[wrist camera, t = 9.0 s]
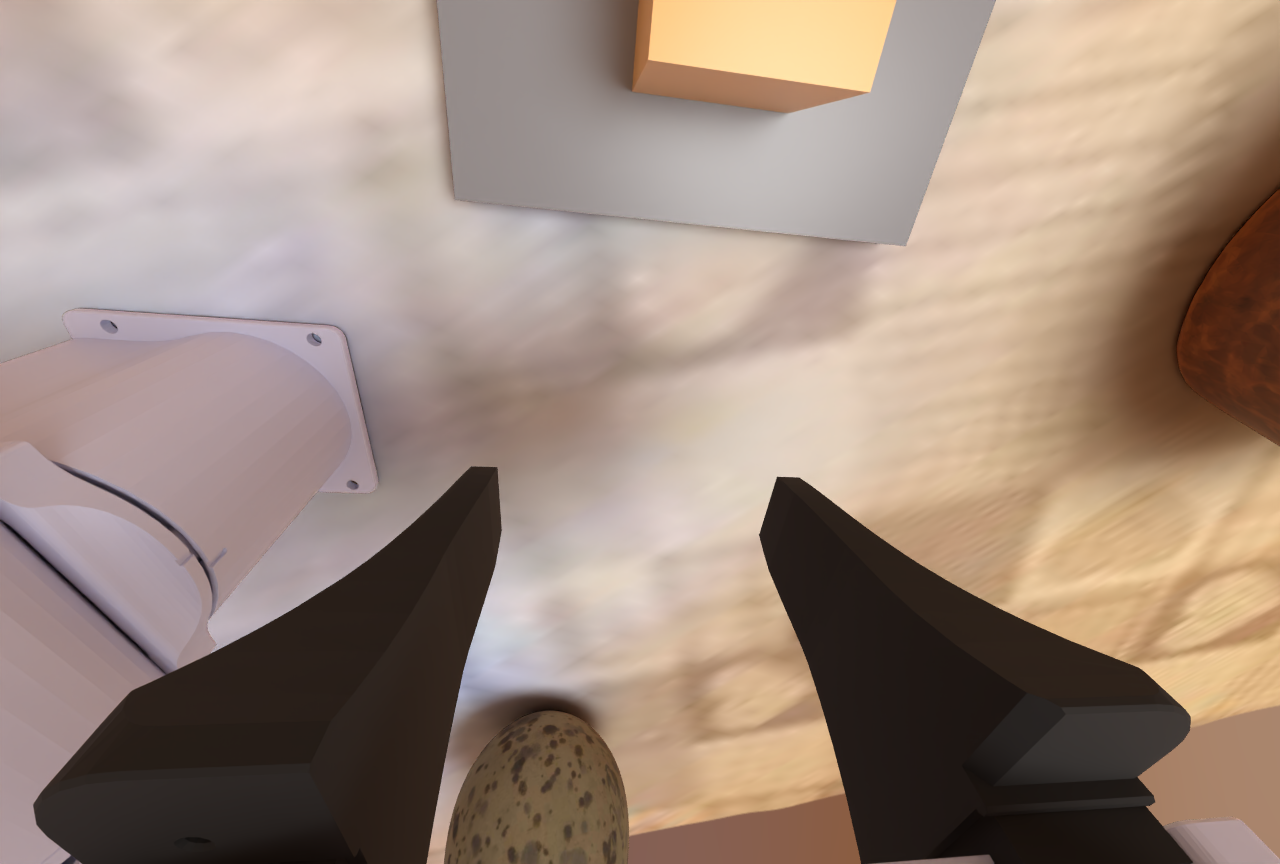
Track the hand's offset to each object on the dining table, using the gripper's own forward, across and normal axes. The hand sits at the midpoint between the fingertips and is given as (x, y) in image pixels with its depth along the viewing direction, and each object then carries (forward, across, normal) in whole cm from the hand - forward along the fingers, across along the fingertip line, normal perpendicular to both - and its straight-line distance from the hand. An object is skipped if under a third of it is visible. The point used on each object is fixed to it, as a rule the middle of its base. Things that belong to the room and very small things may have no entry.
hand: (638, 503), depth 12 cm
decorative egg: (+10, +3, +28) cm, 30 cm away
